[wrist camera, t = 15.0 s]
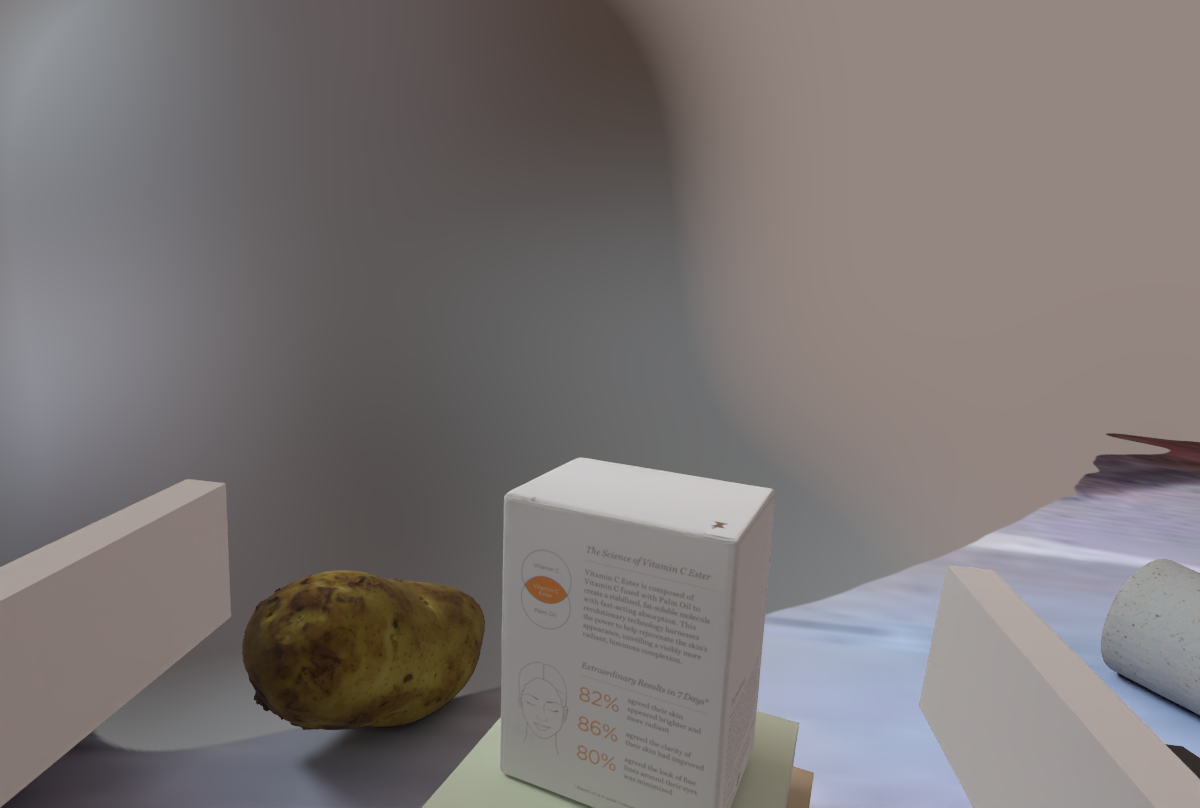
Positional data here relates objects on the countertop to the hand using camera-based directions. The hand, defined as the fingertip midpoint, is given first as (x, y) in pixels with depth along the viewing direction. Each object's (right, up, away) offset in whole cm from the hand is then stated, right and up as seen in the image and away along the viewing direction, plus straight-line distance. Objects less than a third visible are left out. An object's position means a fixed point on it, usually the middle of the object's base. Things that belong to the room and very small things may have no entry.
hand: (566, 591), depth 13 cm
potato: (-10, -12, +23) cm, 28 cm away
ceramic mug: (+37, -14, +30) cm, 49 cm away
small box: (+2, -10, +13) cm, 17 cm away
